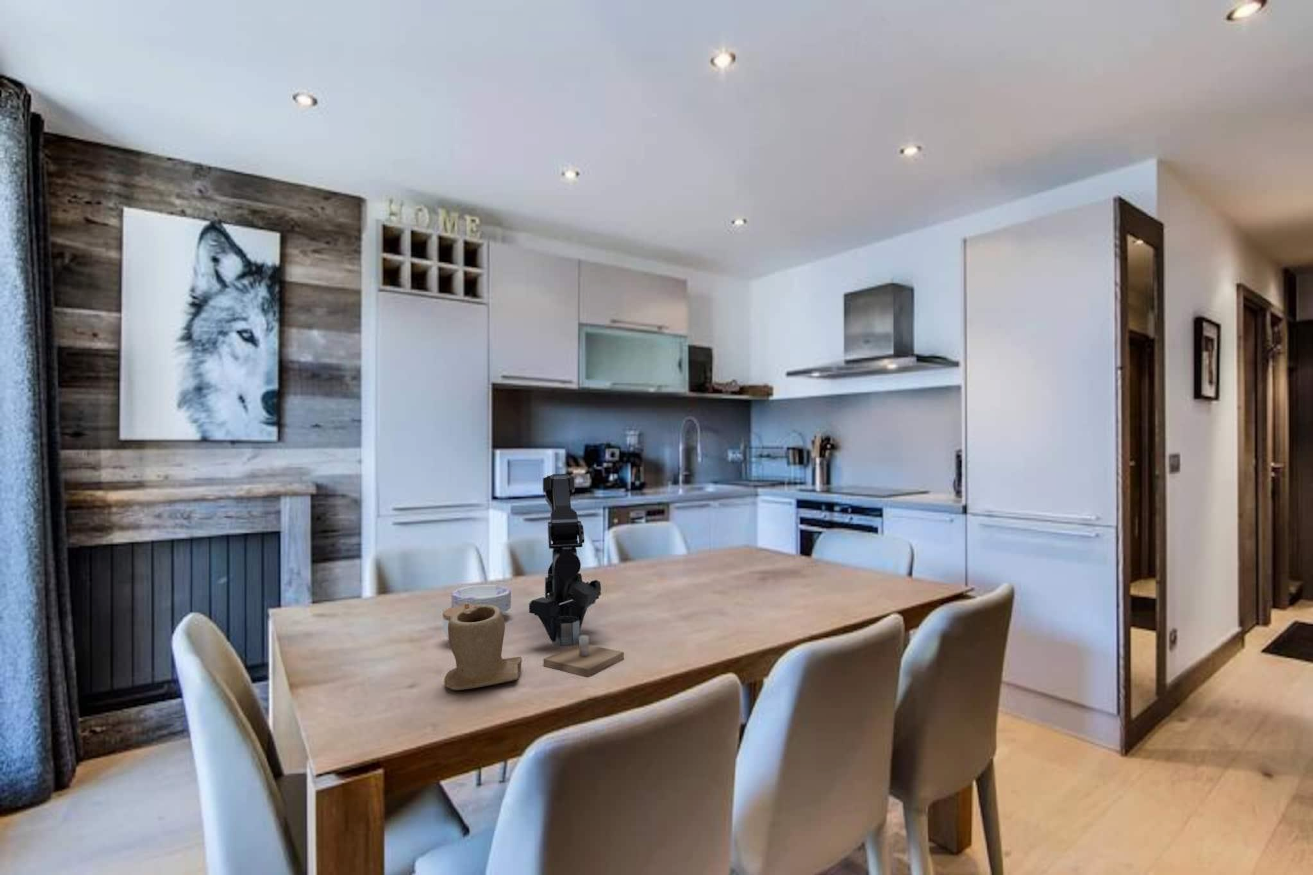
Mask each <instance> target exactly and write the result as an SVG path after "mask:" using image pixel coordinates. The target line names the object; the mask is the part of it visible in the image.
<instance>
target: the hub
mask: <svg viewBox="0 0 1313 875" xmlns="http://www.w3.org/2000/svg"><path fill="white" fill-rule="evenodd" d="M579 636H581V628H580V620H579V617H575V616H560V617H559V618H558V619H557V635H556V641H555V642H554V641H551V644H552V645H557V646H563V647H564V646H574V645H577V644H579Z"/></svg>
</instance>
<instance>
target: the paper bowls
mask: <svg viewBox="0 0 1313 875" xmlns="http://www.w3.org/2000/svg"><path fill="white" fill-rule="evenodd" d="M450 603H451V608H452V607H456V606H461V605H465V603H469V605H473V604H474V605H493V606H496V607H498V608H499V609H500V610H501V612H502V614H503V615H504V613H506V612H507V611H509V610H510V609H511V606H512V590H511V588H509V587H508V586H505V585H504V586H503V585H496V584H495V585H493V584H483V585H481V584H480V585H471V586H464V587H461V588H457V589H455V590H453V591H452V592H451V602H450Z"/></svg>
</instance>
